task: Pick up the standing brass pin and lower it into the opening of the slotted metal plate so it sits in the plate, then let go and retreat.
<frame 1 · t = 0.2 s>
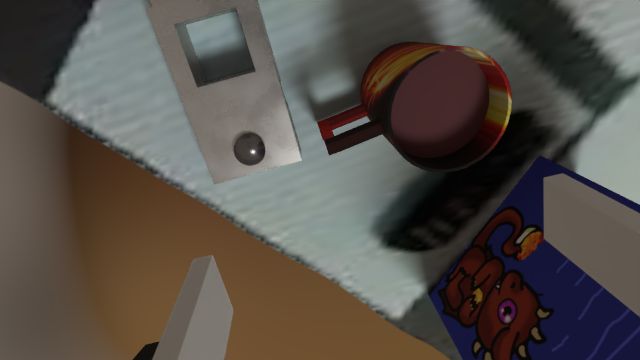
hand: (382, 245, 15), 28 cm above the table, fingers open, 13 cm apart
slotted metal plate: (222, 46, 38), on the table
cereal box: (498, 239, 49), on the table
mug: (390, 104, 42), on the table
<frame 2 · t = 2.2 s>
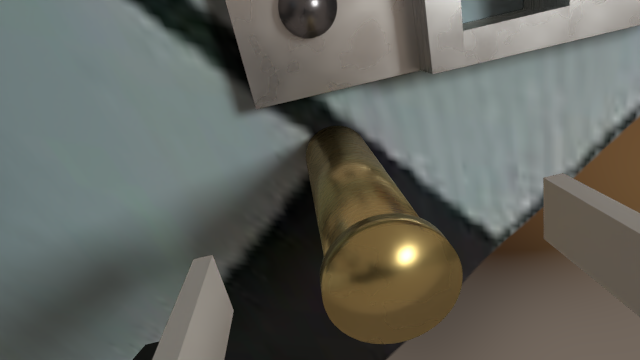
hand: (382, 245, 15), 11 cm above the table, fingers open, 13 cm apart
brass pin: (336, 155, 26), on the table
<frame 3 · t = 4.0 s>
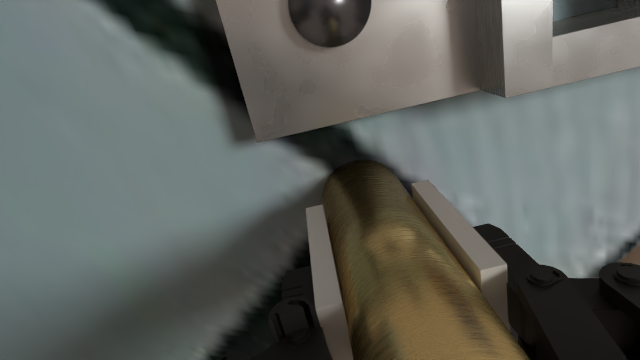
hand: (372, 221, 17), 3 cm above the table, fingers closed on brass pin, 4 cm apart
brass pin: (361, 197, 20), on the table, touching gripper
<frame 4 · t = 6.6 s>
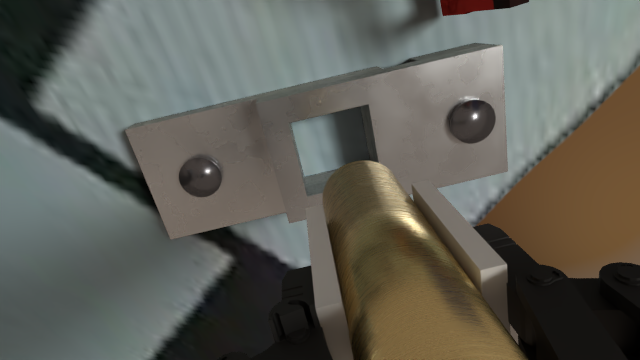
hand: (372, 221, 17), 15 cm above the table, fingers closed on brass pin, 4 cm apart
slotted metal plate: (330, 137, 31), on the table
brass pin: (361, 197, 20), point 12 cm above the table, touching gripper
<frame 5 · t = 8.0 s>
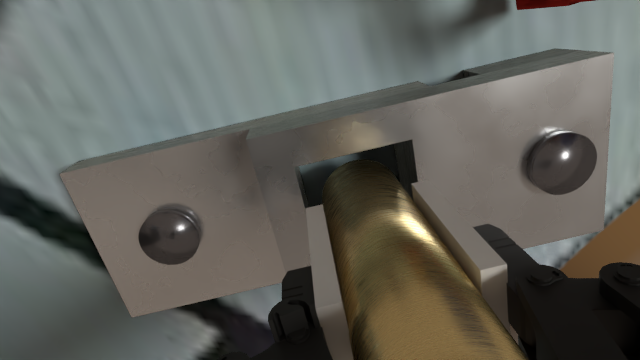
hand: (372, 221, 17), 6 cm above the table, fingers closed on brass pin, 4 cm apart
slotted metal plate: (350, 177, 22), on the table
brass pin: (360, 196, 20), point 3 cm above the table, touching gripper
when the fingers open (5 cm above the table, at t = 9.0 s): brass pin drops 2 cm, resting in slotted metal plate.
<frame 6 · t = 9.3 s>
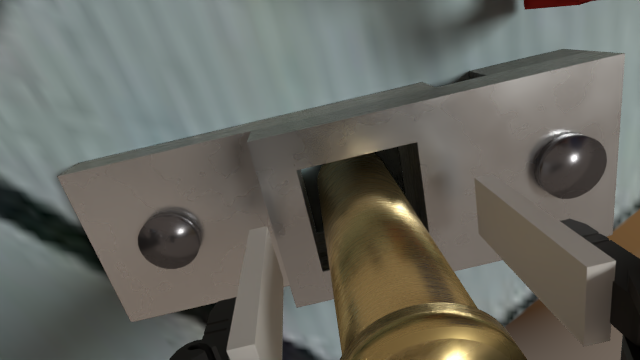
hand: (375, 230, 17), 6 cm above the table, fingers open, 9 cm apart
slotted metal plate: (353, 180, 22), on the table
brass pin: (352, 181, 22), resting in slotted metal plate
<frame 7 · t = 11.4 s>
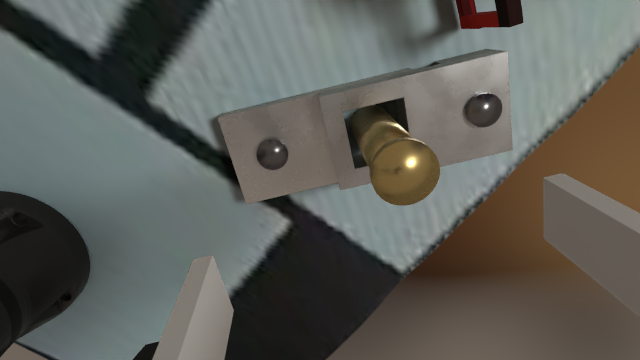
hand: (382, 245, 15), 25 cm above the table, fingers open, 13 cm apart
slotted metal plate: (370, 124, 39), on the table
brass pin: (370, 125, 39), resting in slotted metal plate
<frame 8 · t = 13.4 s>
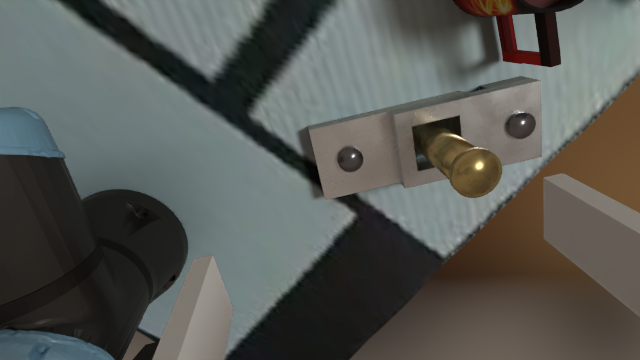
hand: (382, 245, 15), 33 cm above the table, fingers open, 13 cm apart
slotted metal plate: (426, 135, 48), on the table
brass pin: (426, 135, 48), resting in slotted metal plate
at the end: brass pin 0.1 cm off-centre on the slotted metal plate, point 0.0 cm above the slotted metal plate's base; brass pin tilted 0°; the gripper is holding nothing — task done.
